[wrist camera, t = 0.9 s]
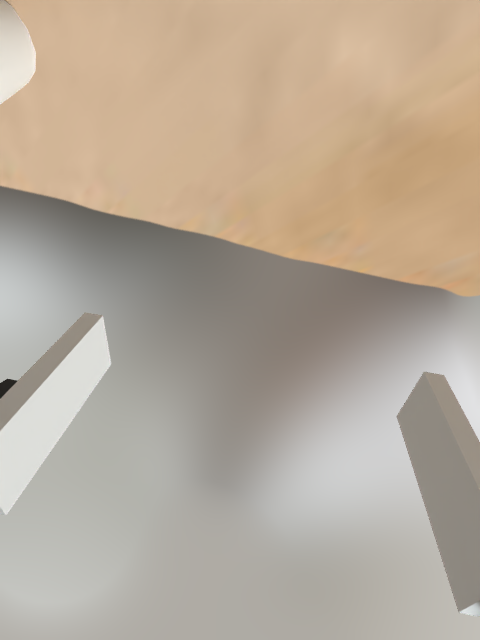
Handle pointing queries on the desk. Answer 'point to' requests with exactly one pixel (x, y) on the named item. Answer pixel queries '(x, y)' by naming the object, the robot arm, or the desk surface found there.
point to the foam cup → (14, 52)
